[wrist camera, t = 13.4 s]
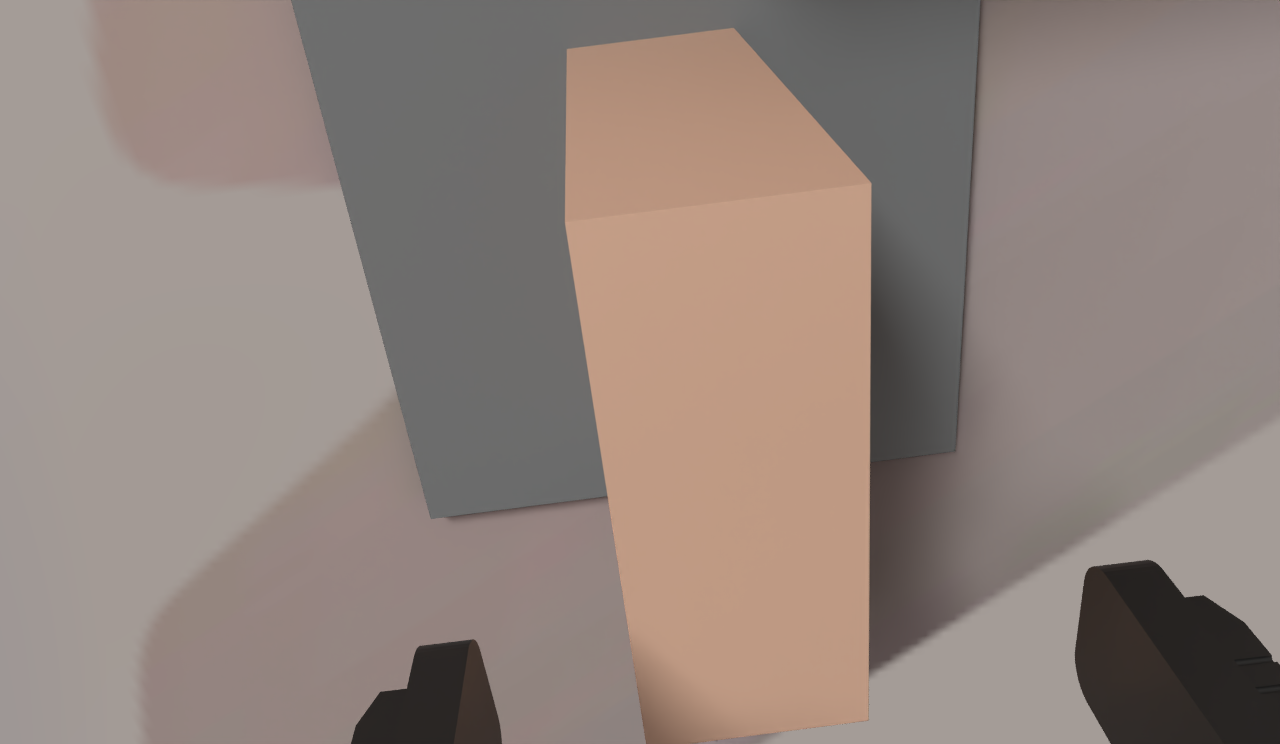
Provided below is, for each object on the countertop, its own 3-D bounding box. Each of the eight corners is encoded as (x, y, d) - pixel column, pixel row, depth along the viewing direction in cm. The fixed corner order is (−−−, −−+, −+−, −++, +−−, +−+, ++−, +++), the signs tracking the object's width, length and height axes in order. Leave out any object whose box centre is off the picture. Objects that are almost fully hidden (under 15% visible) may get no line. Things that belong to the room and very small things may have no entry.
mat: (980, -144, 22) (988, -144, 22) (949, 442, 30) (955, 451, 29) (282, -56, 22) (276, -54, 22) (433, 509, 30) (430, 518, 29)
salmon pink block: (733, 27, 23) (871, 182, 13) (755, 389, 28) (868, 720, 17) (567, 48, 23) (564, 221, 13) (617, 407, 28) (647, 749, 17)
